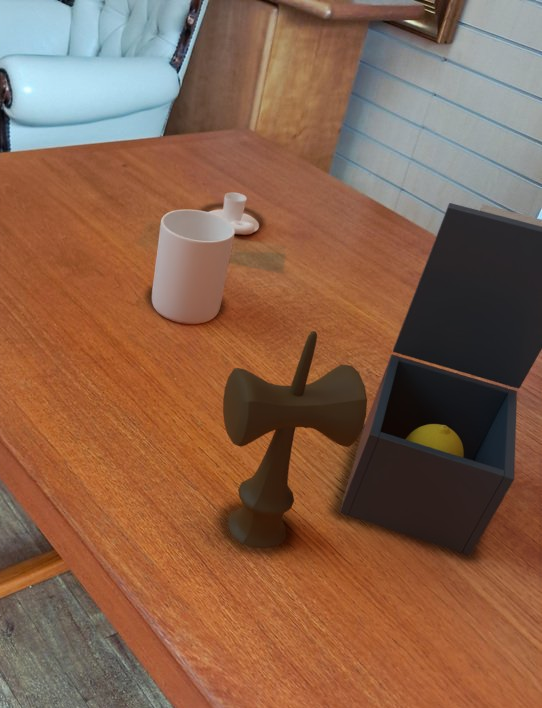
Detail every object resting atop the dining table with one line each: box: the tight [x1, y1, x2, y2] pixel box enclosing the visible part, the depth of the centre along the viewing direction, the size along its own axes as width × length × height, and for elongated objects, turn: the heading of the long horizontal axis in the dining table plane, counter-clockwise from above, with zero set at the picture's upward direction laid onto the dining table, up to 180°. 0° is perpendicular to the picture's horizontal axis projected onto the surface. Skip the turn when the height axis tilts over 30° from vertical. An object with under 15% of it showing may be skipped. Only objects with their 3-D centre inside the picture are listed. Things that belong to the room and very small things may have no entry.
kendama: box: [222, 330, 368, 549], centre depth 61 cm, size 6×10×20 cm, turn 101°
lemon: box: [405, 424, 464, 457], centre depth 70 cm, size 6×6×8 cm
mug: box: [151, 208, 236, 325], centre depth 92 cm, size 12×8×10 cm
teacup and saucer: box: [208, 191, 260, 236], centre depth 112 cm, size 9×8×4 cm
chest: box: [339, 353, 518, 557], centre depth 71 cm, size 14×12×10 cm
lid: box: [392, 202, 542, 389], centre depth 68 cm, size 14×12×5 cm
